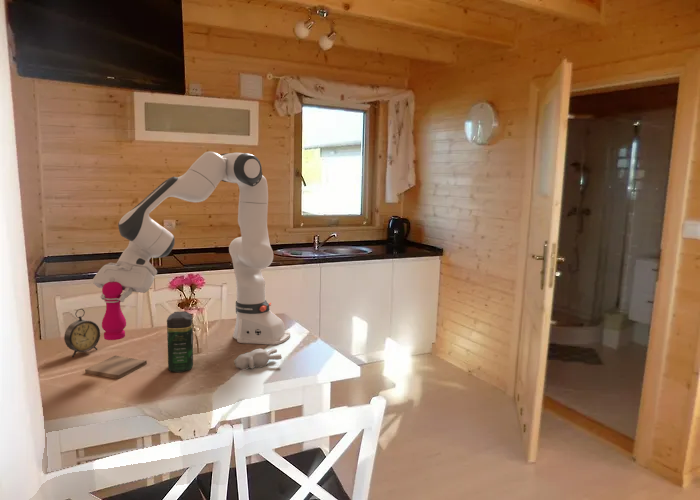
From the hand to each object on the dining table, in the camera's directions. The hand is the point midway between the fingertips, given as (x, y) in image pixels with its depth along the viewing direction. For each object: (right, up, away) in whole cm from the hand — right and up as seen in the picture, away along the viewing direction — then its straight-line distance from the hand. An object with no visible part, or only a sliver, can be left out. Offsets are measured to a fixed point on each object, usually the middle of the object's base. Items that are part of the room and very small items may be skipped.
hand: (111, 300), depth 162 cm
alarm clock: (-18, -21, +17) cm, 32 cm away
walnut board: (0, -23, +4) cm, 23 cm away
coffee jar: (+20, -23, +6) cm, 31 cm away
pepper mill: (0, -13, +3) cm, 13 cm away
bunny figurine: (+45, -23, +10) cm, 52 cm away
